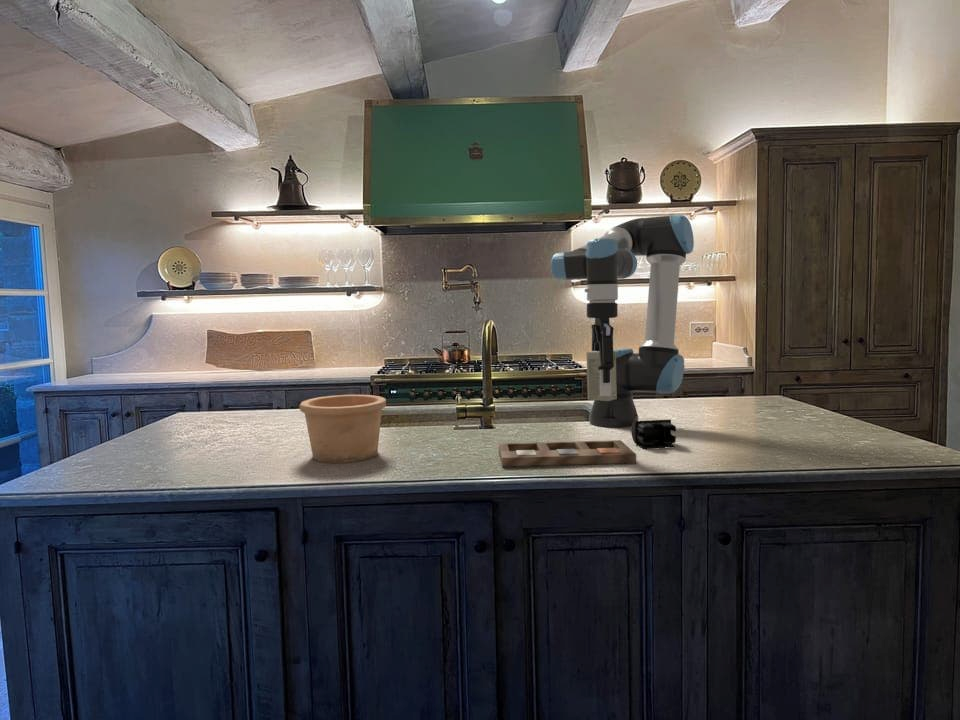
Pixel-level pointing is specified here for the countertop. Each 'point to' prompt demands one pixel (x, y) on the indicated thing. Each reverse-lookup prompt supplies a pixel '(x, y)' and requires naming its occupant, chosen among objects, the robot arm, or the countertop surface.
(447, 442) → the countertop surface
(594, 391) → the skincare box
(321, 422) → the pottery
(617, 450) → the socket plate
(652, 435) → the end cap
